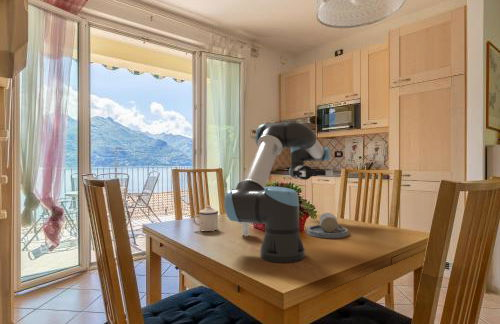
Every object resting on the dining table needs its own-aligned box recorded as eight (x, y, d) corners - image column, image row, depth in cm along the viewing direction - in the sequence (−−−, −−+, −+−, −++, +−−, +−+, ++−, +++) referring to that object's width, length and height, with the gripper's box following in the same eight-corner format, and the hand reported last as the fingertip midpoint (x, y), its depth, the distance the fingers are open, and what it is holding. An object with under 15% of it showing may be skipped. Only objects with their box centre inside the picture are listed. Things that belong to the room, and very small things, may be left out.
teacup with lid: (219, 227, 147) (219, 204, 147) (217, 232, 138) (217, 207, 138) (195, 228, 147) (194, 204, 147) (191, 232, 138) (191, 207, 138)
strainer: (248, 238, 127) (247, 202, 127) (234, 236, 130) (233, 201, 130) (256, 234, 133) (256, 200, 133) (243, 232, 136) (242, 199, 136)
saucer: (315, 239, 122) (315, 234, 122) (301, 229, 140) (301, 225, 140) (356, 237, 125) (356, 232, 125) (337, 227, 143) (336, 223, 143)
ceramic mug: (320, 233, 128) (320, 215, 128) (319, 229, 136) (319, 212, 136) (346, 234, 127) (346, 216, 127) (343, 229, 135) (343, 212, 135)
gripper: (324, 178, 164) (343, 181, 143) (281, 179, 160) (293, 182, 139) (324, 165, 164) (343, 165, 144) (280, 165, 160) (293, 166, 139)
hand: (318, 173), depth 141 cm, fingers open, 13 cm apart
